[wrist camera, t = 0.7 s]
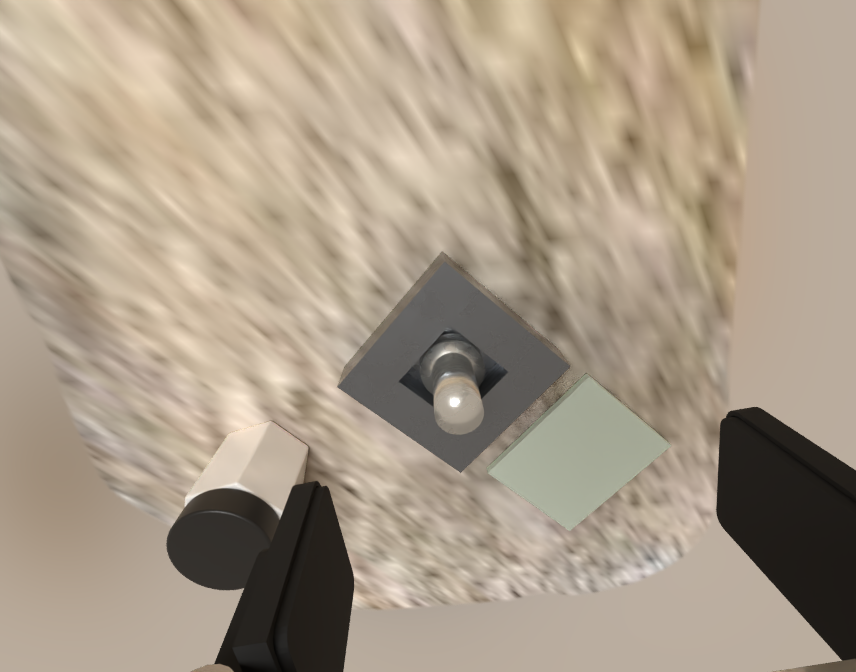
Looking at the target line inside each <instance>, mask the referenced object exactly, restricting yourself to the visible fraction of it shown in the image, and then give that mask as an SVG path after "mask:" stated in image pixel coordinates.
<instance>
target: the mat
mask: <svg viewBox="0 0 856 672" xmlns="http://www.w3.org/2000/svg"><path fill="white" fill-rule="evenodd" d="M669 447H671V444H670V443H669V442H668V441H667V440H666V439H665V438H663V437H662V436H661V435H660V434H659V433H657V432H656V431H655V430H654V429H653V428H651V427H650V426H649V425H648V424H647V423H646V422H644V421H643V420H642V419H641V418H640V417H638V416H637V415H636V414H635V413H634V412H632V411H631V410H630V409H629V408H628V407H626V406H625V405H624V404H623V403H622V402H621V401H619V400H618V399H617V398H616V397H615V396H613V395H612V394H611V393H610V392H609V391H607V390H606V389H605V388H604V387H603V386H602V385H600V384H599V383H598V382H597V381H596V380H594V379H593V378H592V377H591V376H590V375H588V374H587V373H586V374H585V375H584V376H583V377H582V378H581V379H580V380H579V381H578V382H577V383H575V384H574V385H573V386H572V387H571V388H570V389H569V390H568V391H567V392H566V393H565V394H564V395H563V396H562V397H561V398H560V399H559V400H558V401H557V402H555V403H554V404H553V405H552V406H551V407H550V408H549V409H548V410H547V411H546V412H545V413H544V414H543V415H542V416H541V417H540V418H539V419H538V420H537V421H536V422H534V423H533V424H532V425H531V426H530V427H529V428H528V429H527V430H526V431H525V432H524V433H523V434H522V435H521V436H520V437H519V438H518V439H517V440H516V441H515V442H513V443H512V444H511V445H510V446H509V447H508V448H507V449H506V450H505V451H504V452H503V453H502V454H501V455H500V456H499V457H498V458H497V459H496V460H495V461H493V462H492V463H491V464H490V465H489V466H488V467H487V472H488V474H490V475H491V476H492V477H494V478H495V479H497V480H498V481H500V482H501V483H502V484H504V485H505V486H507V487H508V488H509V489H511V490H512V491H514V492H515V493H516V494H518V495H519V496H521V497H522V498H524V499H525V500H526V501H528V502H529V503H531V504H532V505H533V506H535V507H536V508H538V509H539V510H541V511H542V512H543V513H545V514H546V515H548V516H549V517H550V518H552V519H553V520H555V521H556V522H557V523H559V524H560V525H562V526H563V527H565V528H566V529H567V530H569V531H570V530H572V529H573V528H574V527H575V526H576V525H578V524H579V523H580V522H581V521H582V520H584V519H585V518H586V517H587V516H588V515H590V514H591V513H592V512H593V511H594V510H595V509H597V508H598V507H599V506H600V505H601V504H603V503H604V502H605V501H606V500H607V499H609V498H610V497H611V496H612V495H613V494H615V493H616V492H617V491H618V490H619V489H621V488H622V487H623V486H624V485H625V484H626V483H628V482H629V481H630V480H631V479H632V478H634V477H635V476H636V475H637V474H638V473H640V472H641V471H642V470H643V469H644V468H646V467H647V466H648V465H649V464H650V463H652V462H653V461H654V460H655V459H656V458H657V457H659V456H660V455H661V454H662V453H663V452H665V451H666V450H667V449H668V448H669Z"/></svg>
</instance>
